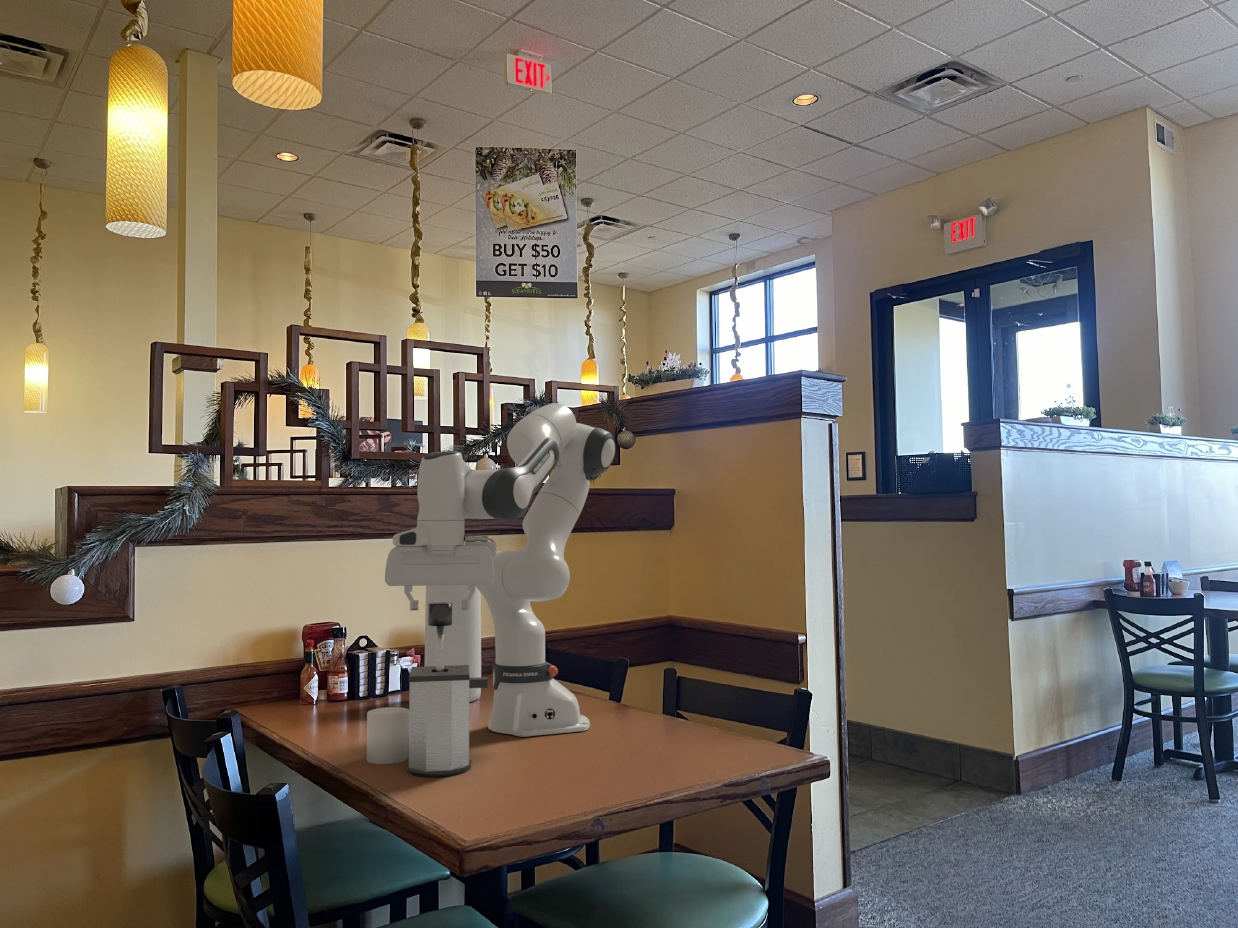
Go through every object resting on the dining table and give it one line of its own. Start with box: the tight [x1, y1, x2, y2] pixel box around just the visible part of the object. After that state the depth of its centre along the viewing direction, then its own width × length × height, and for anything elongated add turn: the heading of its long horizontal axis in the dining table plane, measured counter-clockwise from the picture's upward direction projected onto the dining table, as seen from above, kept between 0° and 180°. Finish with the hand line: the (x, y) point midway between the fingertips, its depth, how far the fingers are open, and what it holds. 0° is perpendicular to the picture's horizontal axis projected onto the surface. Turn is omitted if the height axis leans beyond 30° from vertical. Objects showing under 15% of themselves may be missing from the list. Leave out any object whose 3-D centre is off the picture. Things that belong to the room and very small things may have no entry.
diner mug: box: [365, 706, 409, 765], centre depth 177 cm, size 8×11×9 cm
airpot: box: [406, 665, 489, 778], centre depth 168 cm, size 15×12×18 cm
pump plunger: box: [428, 602, 452, 672], centre depth 169 cm, size 4×4×21 cm
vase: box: [424, 585, 482, 703], centre depth 232 cm, size 14×14×32 cm
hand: (439, 609), depth 169 cm, fingers open, 8 cm apart
